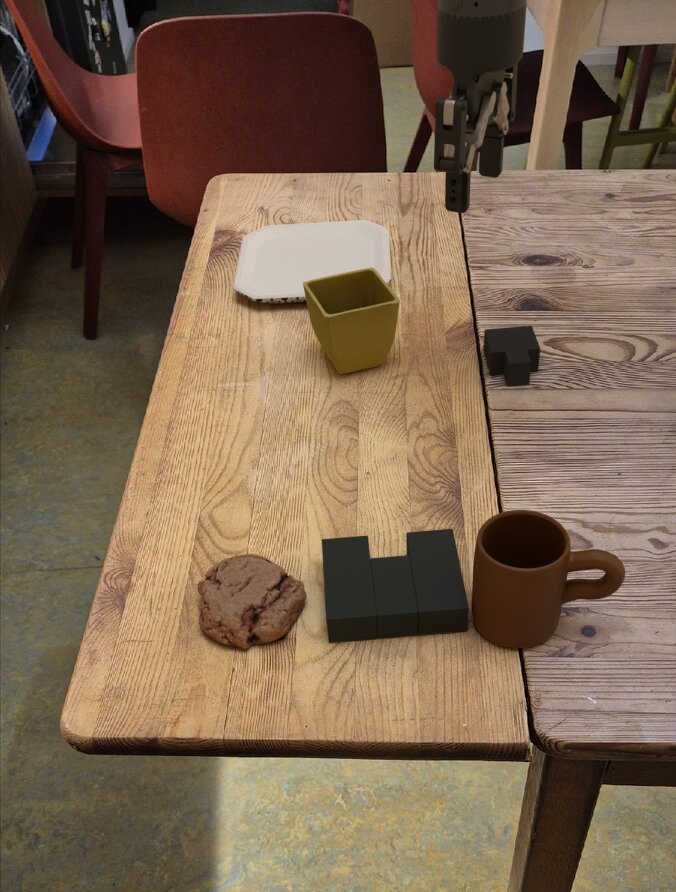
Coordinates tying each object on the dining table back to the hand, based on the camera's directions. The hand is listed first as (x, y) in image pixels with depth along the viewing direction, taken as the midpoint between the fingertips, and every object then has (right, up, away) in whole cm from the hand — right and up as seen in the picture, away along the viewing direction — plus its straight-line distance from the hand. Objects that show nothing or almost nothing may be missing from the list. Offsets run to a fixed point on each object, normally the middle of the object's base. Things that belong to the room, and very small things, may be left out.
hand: (474, 192), depth 90 cm
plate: (-16, +5, +36) cm, 40 cm away
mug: (+4, -42, -10) cm, 43 cm away
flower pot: (-11, -11, +20) cm, 26 cm away
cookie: (-21, -40, -6) cm, 46 cm away
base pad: (-8, -39, -7) cm, 41 cm away
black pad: (+7, -13, +17) cm, 22 cm away
